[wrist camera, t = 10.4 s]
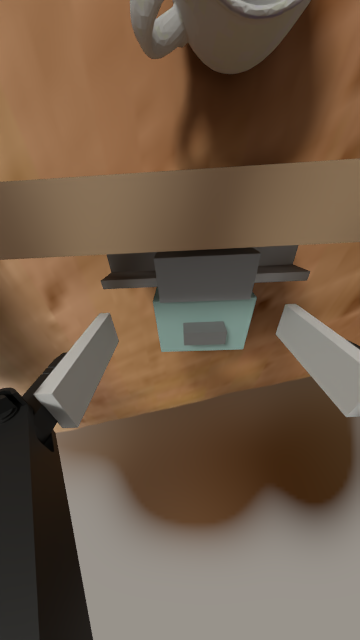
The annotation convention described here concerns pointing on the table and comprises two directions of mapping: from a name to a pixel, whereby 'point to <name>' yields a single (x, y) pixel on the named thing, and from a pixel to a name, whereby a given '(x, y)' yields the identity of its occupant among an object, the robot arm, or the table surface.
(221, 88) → the table surface
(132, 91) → the table surface
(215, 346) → the cabinet
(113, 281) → the wall board
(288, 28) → the teacup
